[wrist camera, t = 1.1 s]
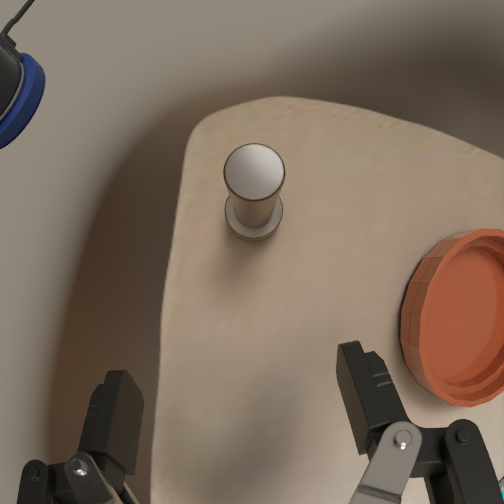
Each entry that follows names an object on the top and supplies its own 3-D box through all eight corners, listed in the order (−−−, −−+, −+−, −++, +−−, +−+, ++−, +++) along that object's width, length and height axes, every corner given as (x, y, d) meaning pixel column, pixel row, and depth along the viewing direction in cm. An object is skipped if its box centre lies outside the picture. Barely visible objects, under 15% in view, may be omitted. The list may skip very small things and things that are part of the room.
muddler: (227, 191, 25) (207, 129, 13) (278, 190, 25) (299, 128, 13) (228, 242, 25) (206, 219, 13) (280, 241, 25) (304, 217, 13)
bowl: (396, 233, 25) (419, 227, 21) (514, 234, 25) (540, 230, 21) (391, 405, 24) (409, 423, 20) (508, 376, 24) (530, 385, 20)
